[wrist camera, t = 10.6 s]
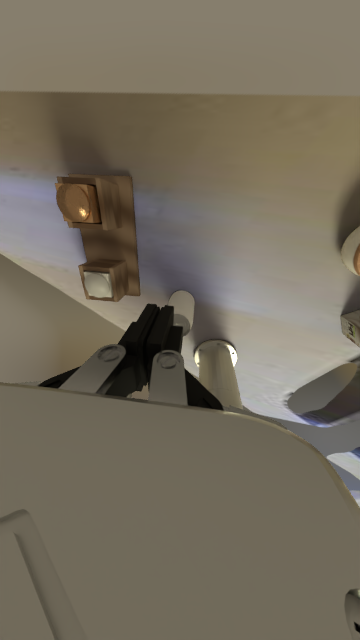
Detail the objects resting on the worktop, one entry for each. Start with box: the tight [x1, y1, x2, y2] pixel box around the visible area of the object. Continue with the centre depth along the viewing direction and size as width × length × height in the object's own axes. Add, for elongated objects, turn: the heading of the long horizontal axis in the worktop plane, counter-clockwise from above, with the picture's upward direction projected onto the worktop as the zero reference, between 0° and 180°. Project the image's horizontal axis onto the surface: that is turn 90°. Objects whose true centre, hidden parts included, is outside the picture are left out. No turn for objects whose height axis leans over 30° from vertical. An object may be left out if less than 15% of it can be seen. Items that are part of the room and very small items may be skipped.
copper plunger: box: [55, 183, 102, 223], centre depth 31 cm, size 5×5×8 cm
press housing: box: [57, 174, 140, 302], centre depth 37 cm, size 24×12×8 cm, turn 177°
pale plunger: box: [84, 271, 113, 298], centre depth 39 cm, size 5×5×8 cm
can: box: [168, 291, 195, 336], centre depth 41 cm, size 6×6×12 cm
